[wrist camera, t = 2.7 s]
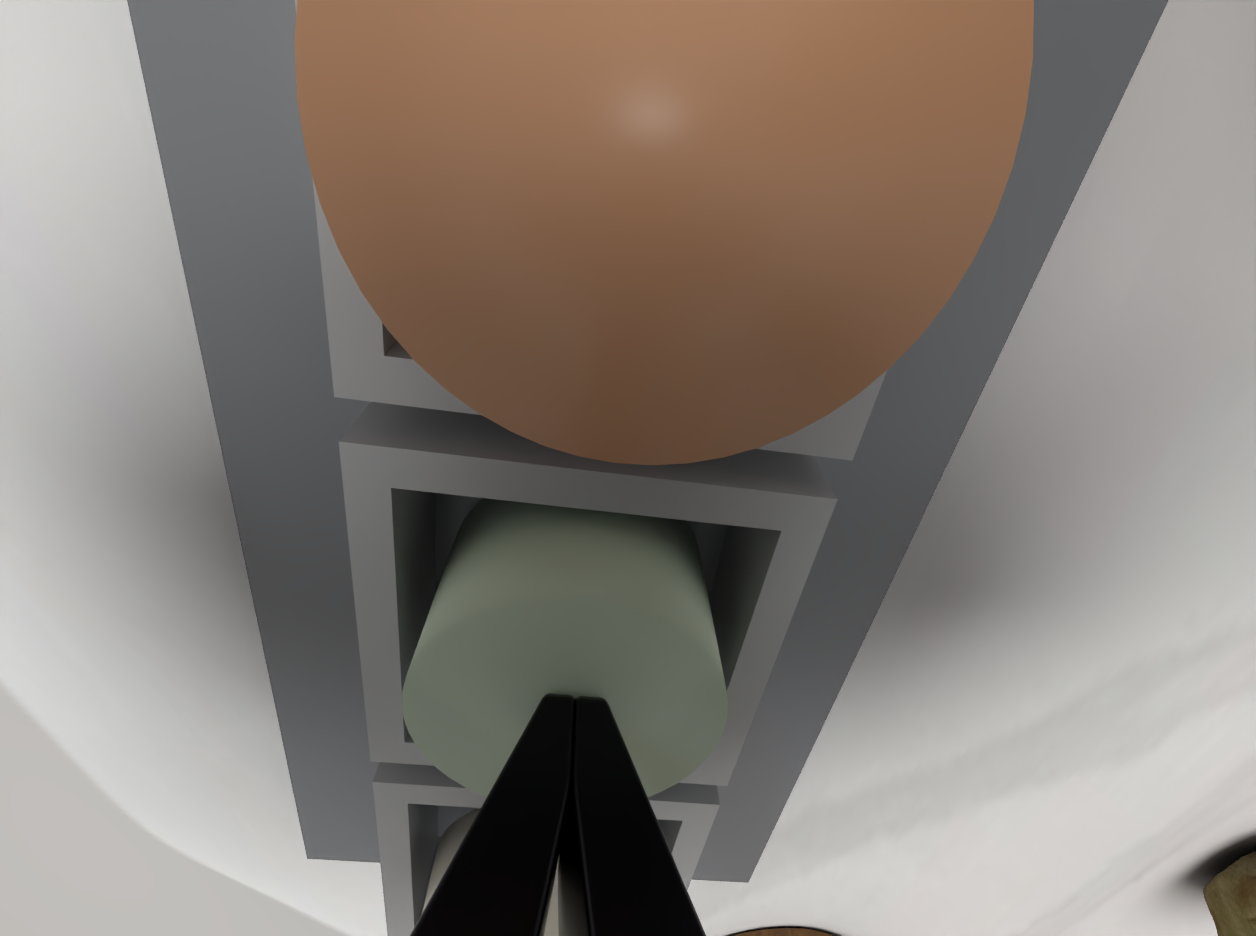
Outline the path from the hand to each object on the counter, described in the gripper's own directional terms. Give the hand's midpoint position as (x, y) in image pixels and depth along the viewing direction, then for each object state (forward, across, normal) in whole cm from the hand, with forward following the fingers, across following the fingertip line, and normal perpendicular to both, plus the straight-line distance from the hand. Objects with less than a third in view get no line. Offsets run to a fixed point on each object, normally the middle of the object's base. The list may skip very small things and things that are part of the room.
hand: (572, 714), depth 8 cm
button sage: (+3, 0, 0) cm, 3 cm away
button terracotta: (+2, 0, -7) cm, 7 cm away
